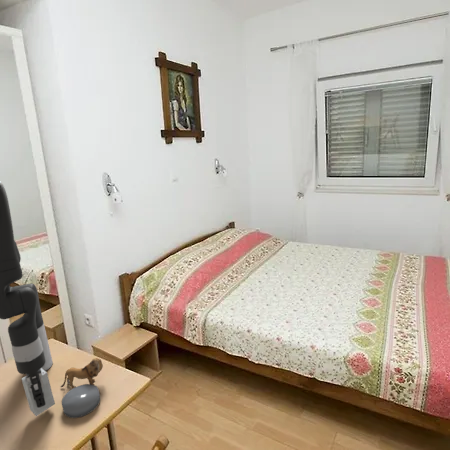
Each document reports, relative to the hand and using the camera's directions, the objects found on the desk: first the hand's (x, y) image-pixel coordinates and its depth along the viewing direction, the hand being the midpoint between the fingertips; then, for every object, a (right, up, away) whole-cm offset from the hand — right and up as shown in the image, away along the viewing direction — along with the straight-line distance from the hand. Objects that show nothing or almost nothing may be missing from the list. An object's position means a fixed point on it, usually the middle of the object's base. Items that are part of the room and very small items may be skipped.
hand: (40, 399), depth 107 cm
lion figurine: (+8, -1, +13) cm, 16 cm away
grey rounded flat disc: (+11, -3, +4) cm, 12 cm away
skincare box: (0, -3, +1) cm, 3 cm away
